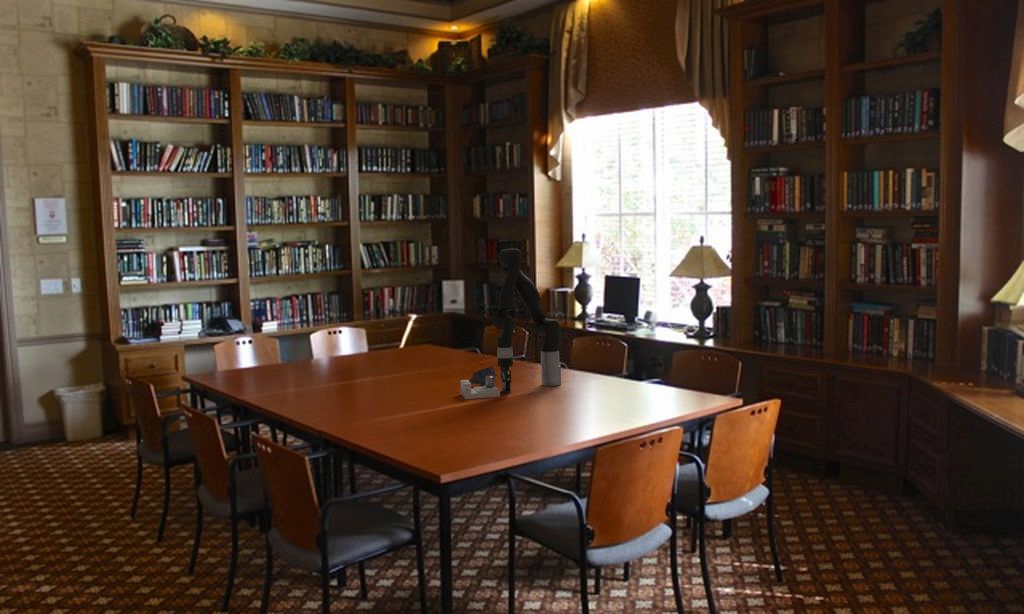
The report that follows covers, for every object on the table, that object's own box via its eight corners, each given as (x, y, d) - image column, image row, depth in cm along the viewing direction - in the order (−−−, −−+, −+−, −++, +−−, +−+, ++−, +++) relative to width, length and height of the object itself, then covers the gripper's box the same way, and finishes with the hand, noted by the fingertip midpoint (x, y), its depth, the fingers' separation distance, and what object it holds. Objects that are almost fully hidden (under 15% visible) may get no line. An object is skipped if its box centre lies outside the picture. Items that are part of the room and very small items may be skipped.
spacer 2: (510, 391, 442) (509, 381, 442) (512, 392, 438) (511, 382, 437) (501, 391, 441) (501, 381, 441) (503, 393, 437) (502, 383, 437)
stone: (473, 388, 453) (472, 368, 452) (468, 386, 458) (467, 367, 457) (497, 385, 459) (497, 365, 458) (492, 383, 464) (492, 364, 463)
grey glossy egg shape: (493, 385, 441) (493, 375, 440) (495, 387, 436) (495, 377, 436) (484, 386, 440) (484, 376, 439) (486, 388, 436) (486, 377, 435)
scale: (495, 391, 443) (494, 376, 442) (500, 396, 430) (499, 381, 429) (460, 394, 439) (460, 379, 438) (464, 399, 427) (464, 384, 426)
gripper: (515, 358, 432) (516, 391, 433) (509, 353, 446) (510, 386, 447) (500, 358, 430) (501, 392, 432) (494, 354, 444) (495, 387, 446)
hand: (506, 389), depth 440 cm, fingers open, 7 cm apart
